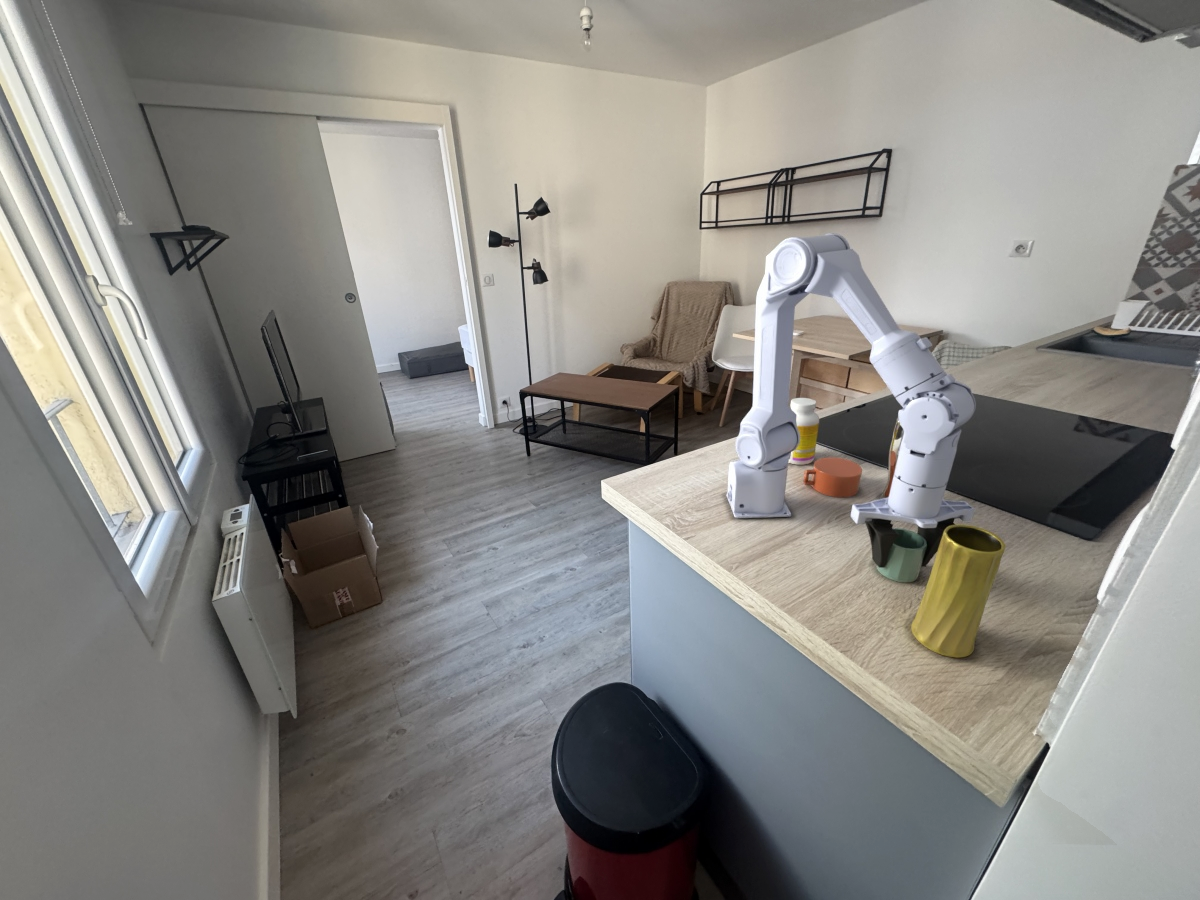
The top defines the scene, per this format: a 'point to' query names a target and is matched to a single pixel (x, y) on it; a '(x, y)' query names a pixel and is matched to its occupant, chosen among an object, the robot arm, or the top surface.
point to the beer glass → (893, 455)
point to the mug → (834, 477)
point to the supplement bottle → (805, 430)
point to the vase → (958, 590)
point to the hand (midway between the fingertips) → (898, 562)
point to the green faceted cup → (905, 556)
